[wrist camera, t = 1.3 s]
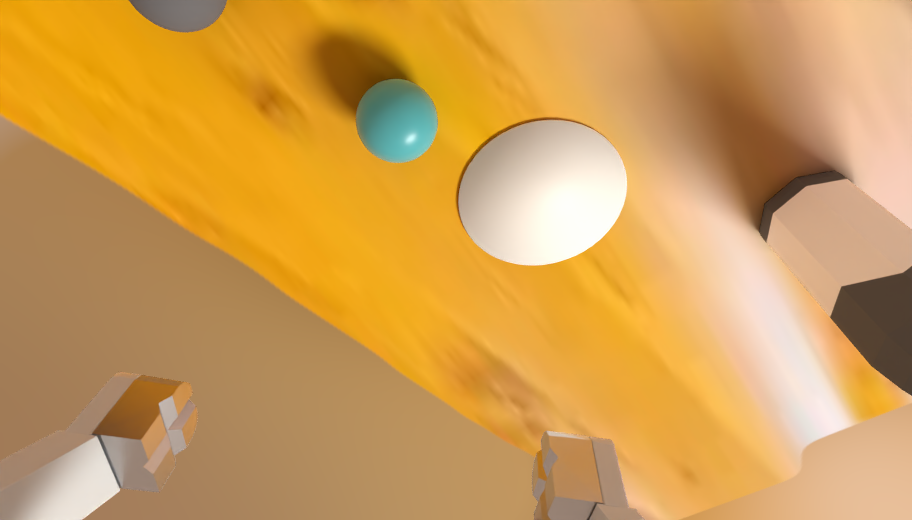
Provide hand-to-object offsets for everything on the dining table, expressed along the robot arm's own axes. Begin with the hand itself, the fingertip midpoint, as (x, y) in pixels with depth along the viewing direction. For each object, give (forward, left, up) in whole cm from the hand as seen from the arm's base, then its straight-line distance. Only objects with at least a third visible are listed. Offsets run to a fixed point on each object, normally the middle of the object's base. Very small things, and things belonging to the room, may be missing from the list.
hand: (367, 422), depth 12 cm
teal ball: (+3, -3, -27) cm, 27 cm away
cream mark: (+15, +4, -29) cm, 33 cm away
